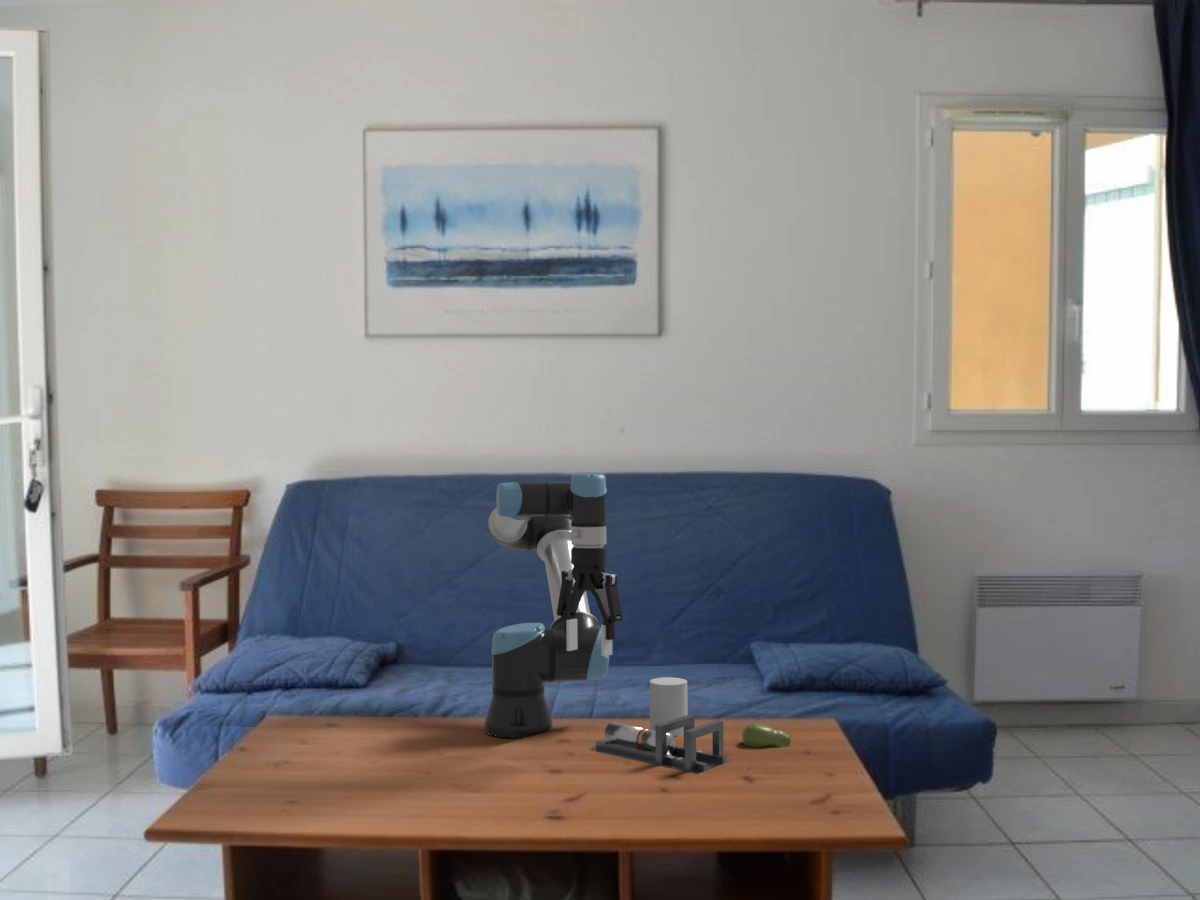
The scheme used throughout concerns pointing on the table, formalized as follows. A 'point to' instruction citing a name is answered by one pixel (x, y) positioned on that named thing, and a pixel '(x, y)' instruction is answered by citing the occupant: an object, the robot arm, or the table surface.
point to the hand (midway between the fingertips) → (589, 652)
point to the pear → (764, 736)
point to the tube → (636, 737)
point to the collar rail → (676, 747)
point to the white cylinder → (668, 701)
